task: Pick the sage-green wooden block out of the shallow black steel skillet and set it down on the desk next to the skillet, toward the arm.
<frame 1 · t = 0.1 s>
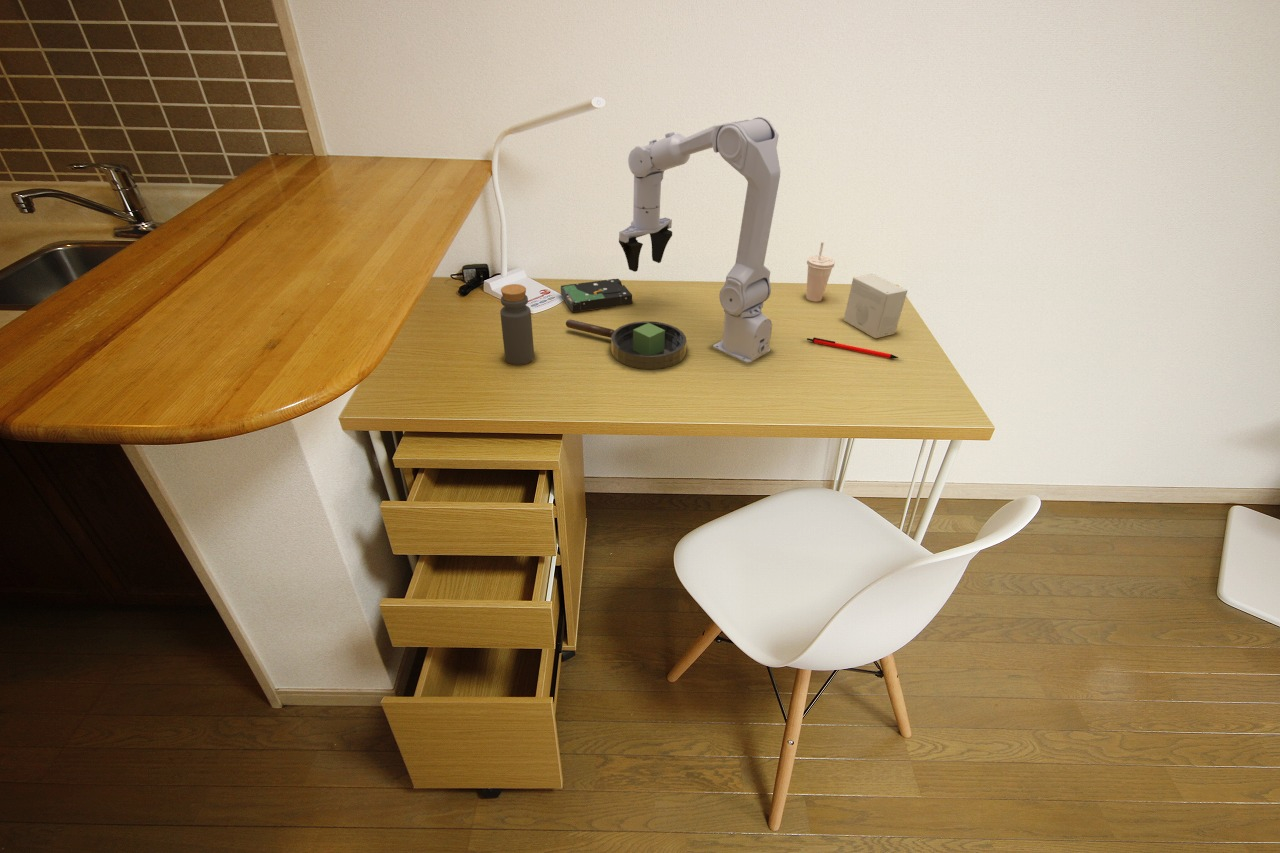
hand: (645, 265, 148), 10 cm above the table, tool pointing down, fingers open, 7 cm apart
skillet handle: (590, 328, 140), point 2 cm above the table
cosmetics box: (868, 327, 149), on the table
bottle: (519, 358, 133), on the table
block: (648, 340, 135), in the skillet
disk drive: (596, 301, 157), on the table
smoothie: (813, 299, 160), on the table
pen: (851, 350, 139), on the table
skillet: (648, 351, 136), on the table
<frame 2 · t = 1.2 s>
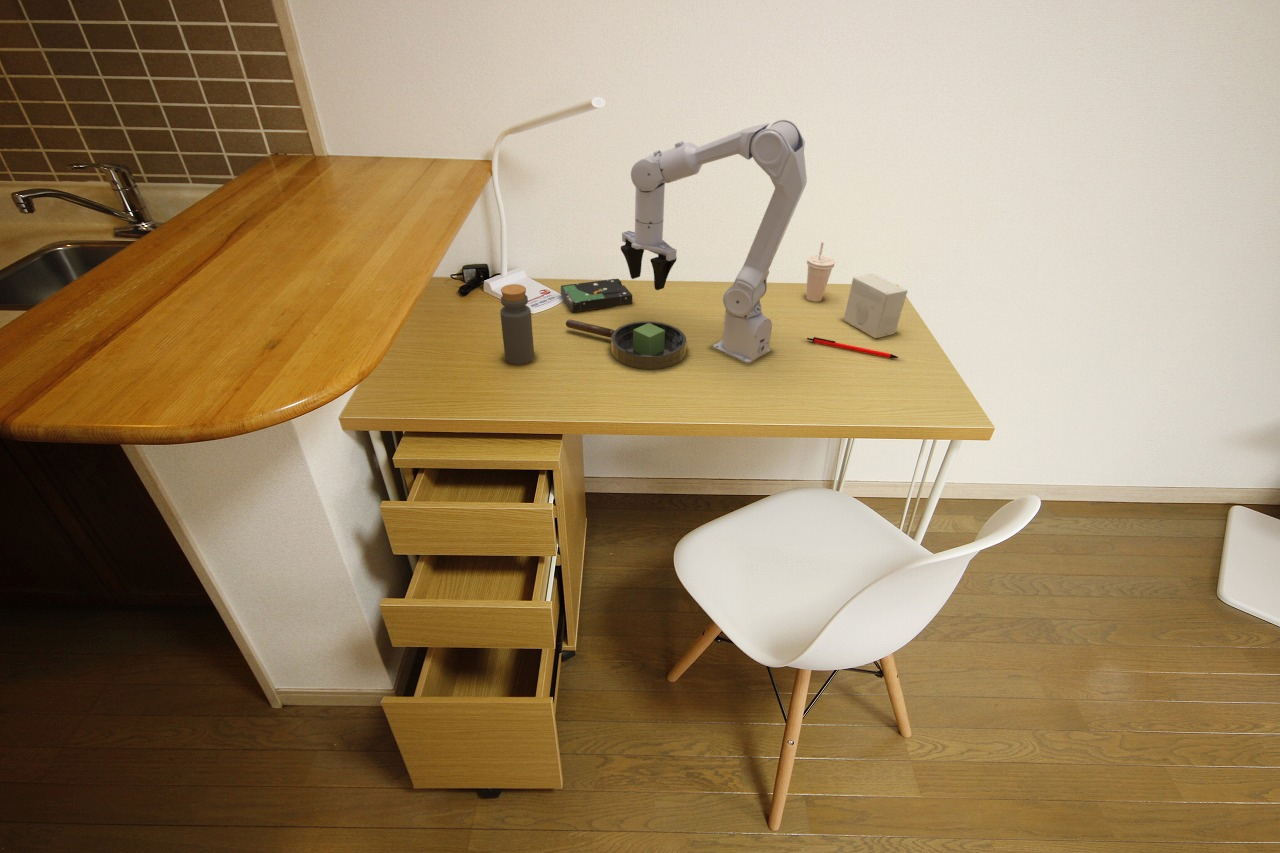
hand: (647, 283, 140), 10 cm above the table, tool pointing down, fingers open, 7 cm apart
nothing on the table moved.
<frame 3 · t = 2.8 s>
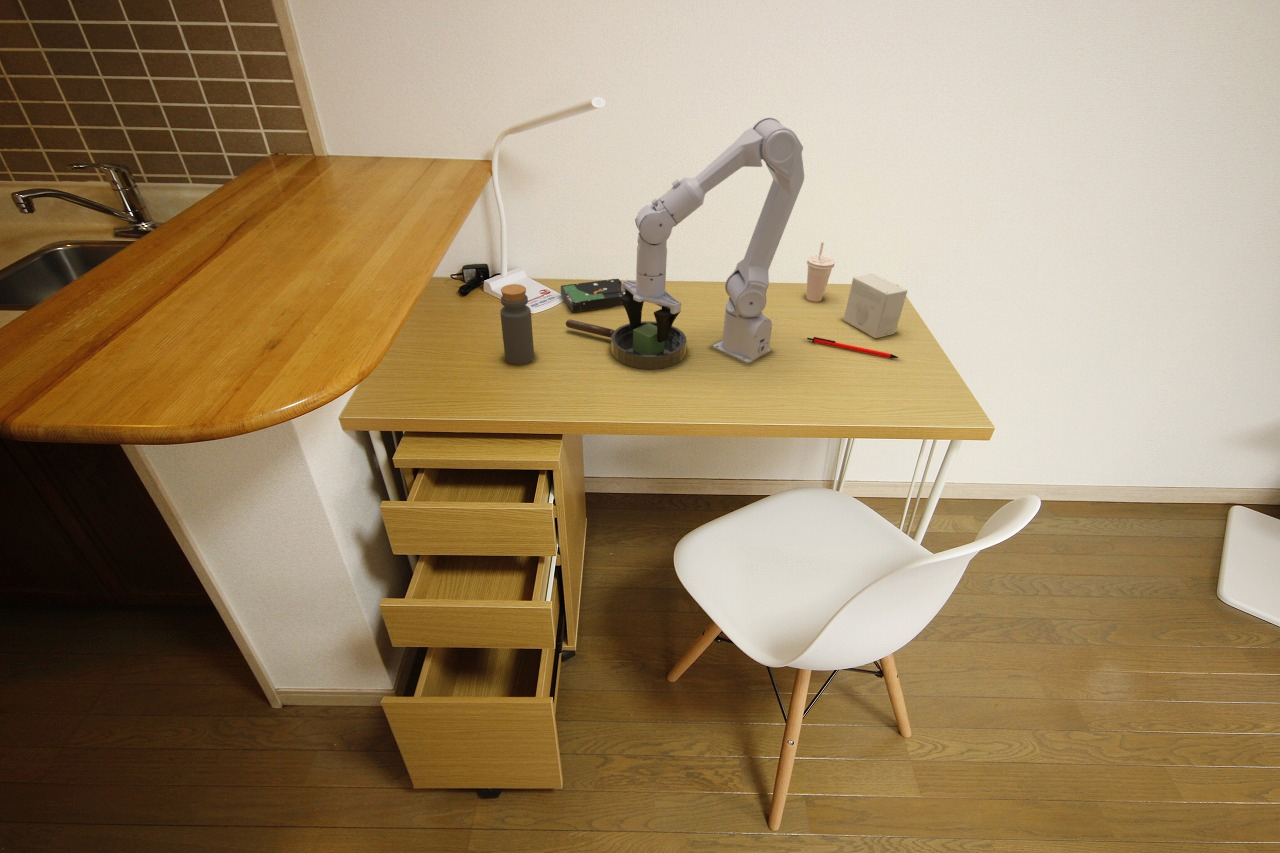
hand: (648, 334, 134), 4 cm above the table, tool pointing down, fingers open, 7 cm apart
nothing on the table moved.
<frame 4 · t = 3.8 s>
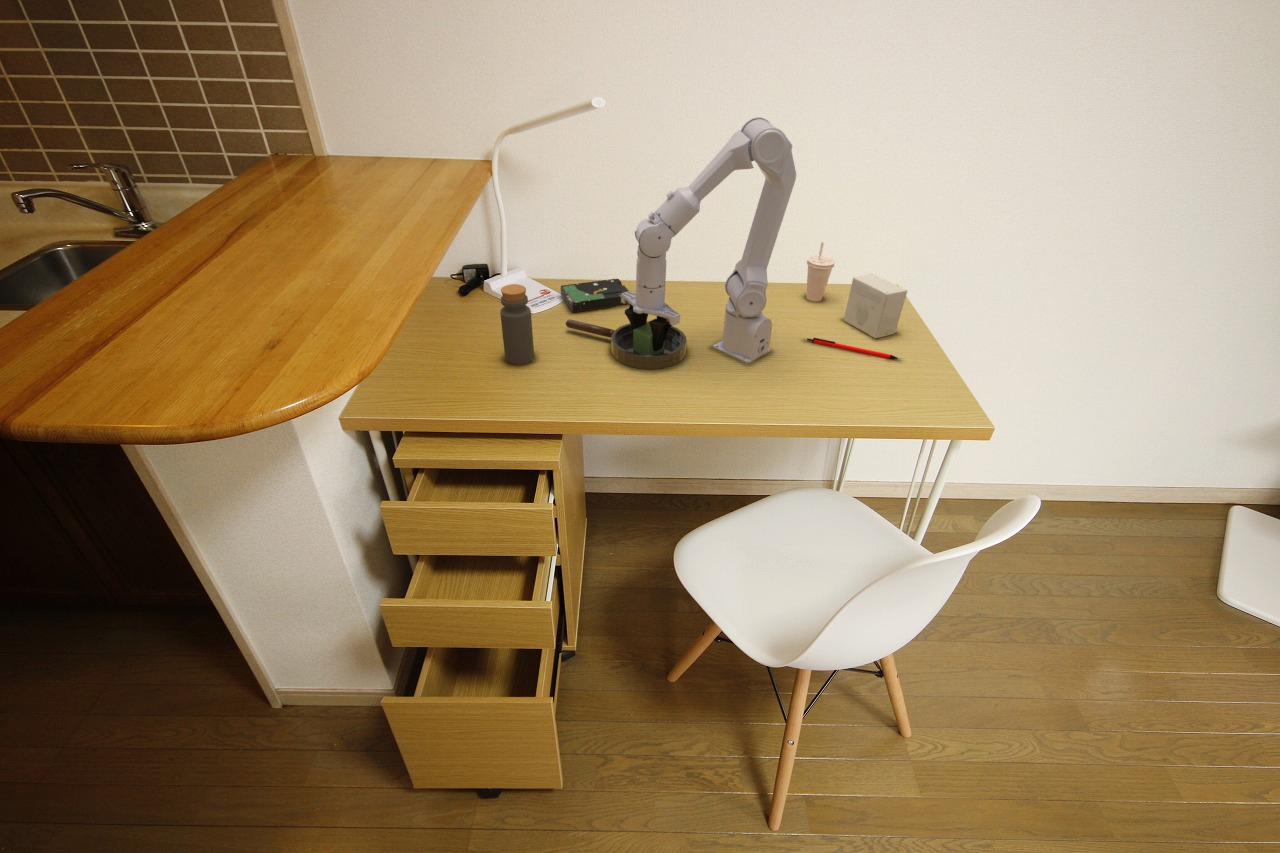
hand: (648, 344, 136), 2 cm above the table, tool pointing down, fingers closed on block, 4 cm apart
block: (648, 340, 135), in the skillet, touching gripper
everything else where it was.
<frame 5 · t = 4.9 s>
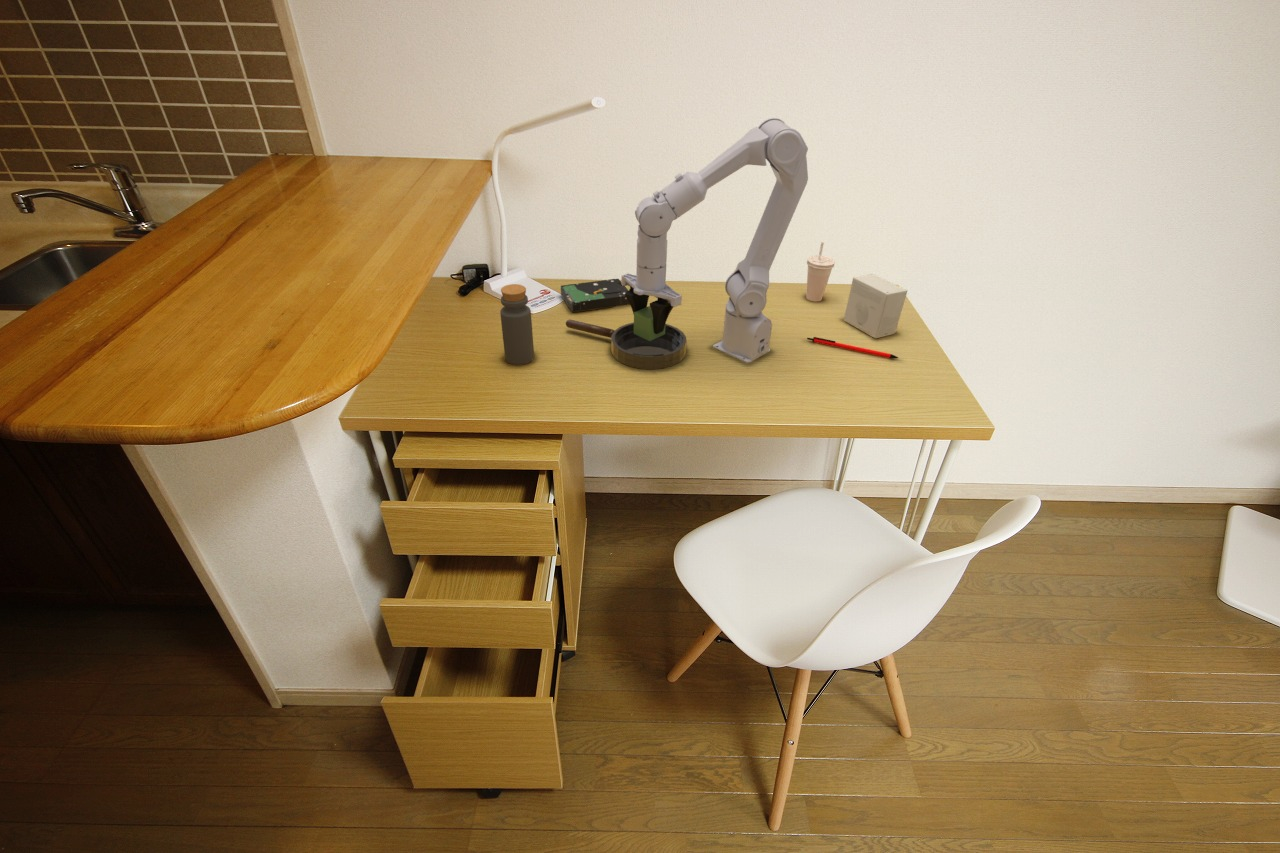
hand: (649, 327, 133), 6 cm above the table, tool pointing down, fingers closed on block, 4 cm apart
block: (649, 323, 133), point 7 cm above the table, touching gripper
everything else where it was.
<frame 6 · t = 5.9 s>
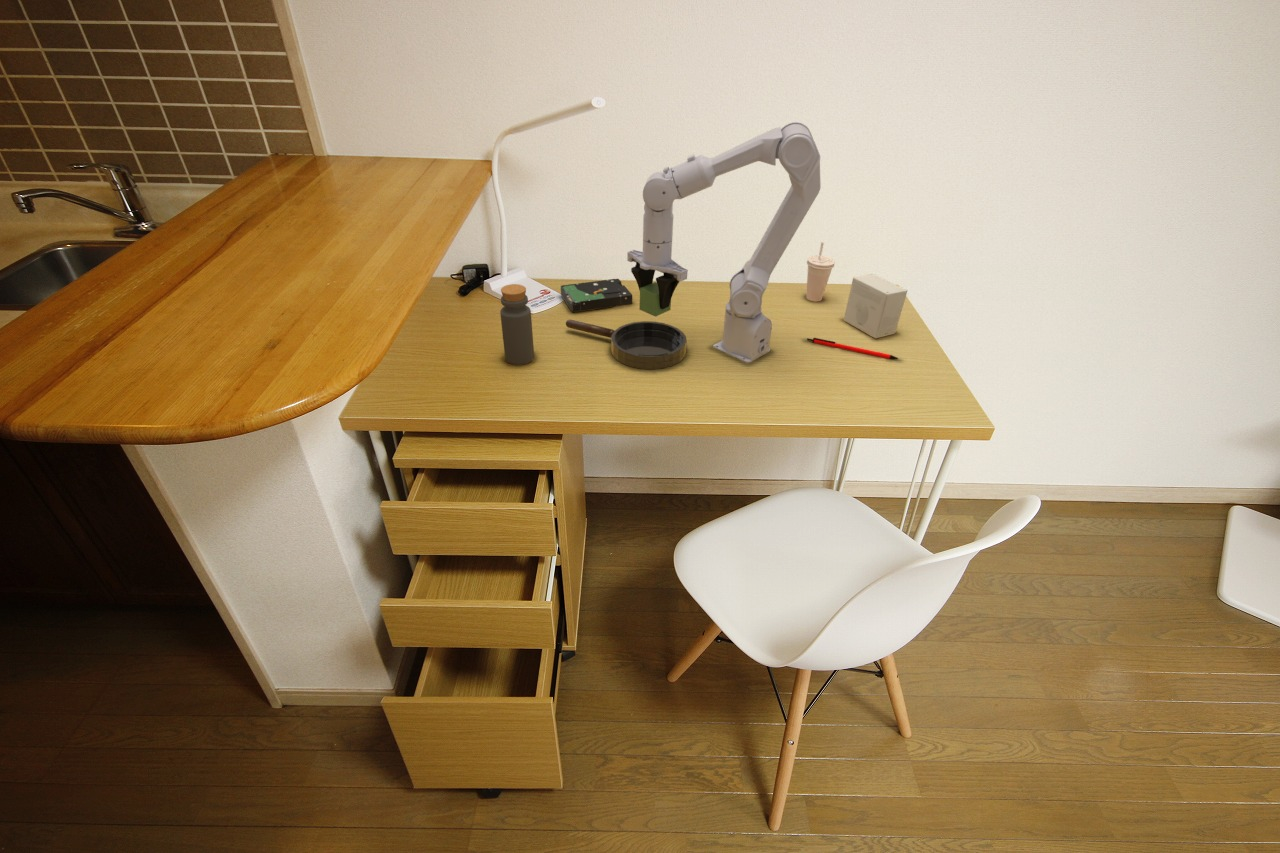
hand: (655, 303, 135), 9 cm above the table, tool pointing down, fingers closed on block, 4 cm apart
block: (655, 299, 134), point 10 cm above the table, touching gripper
everything else where it was.
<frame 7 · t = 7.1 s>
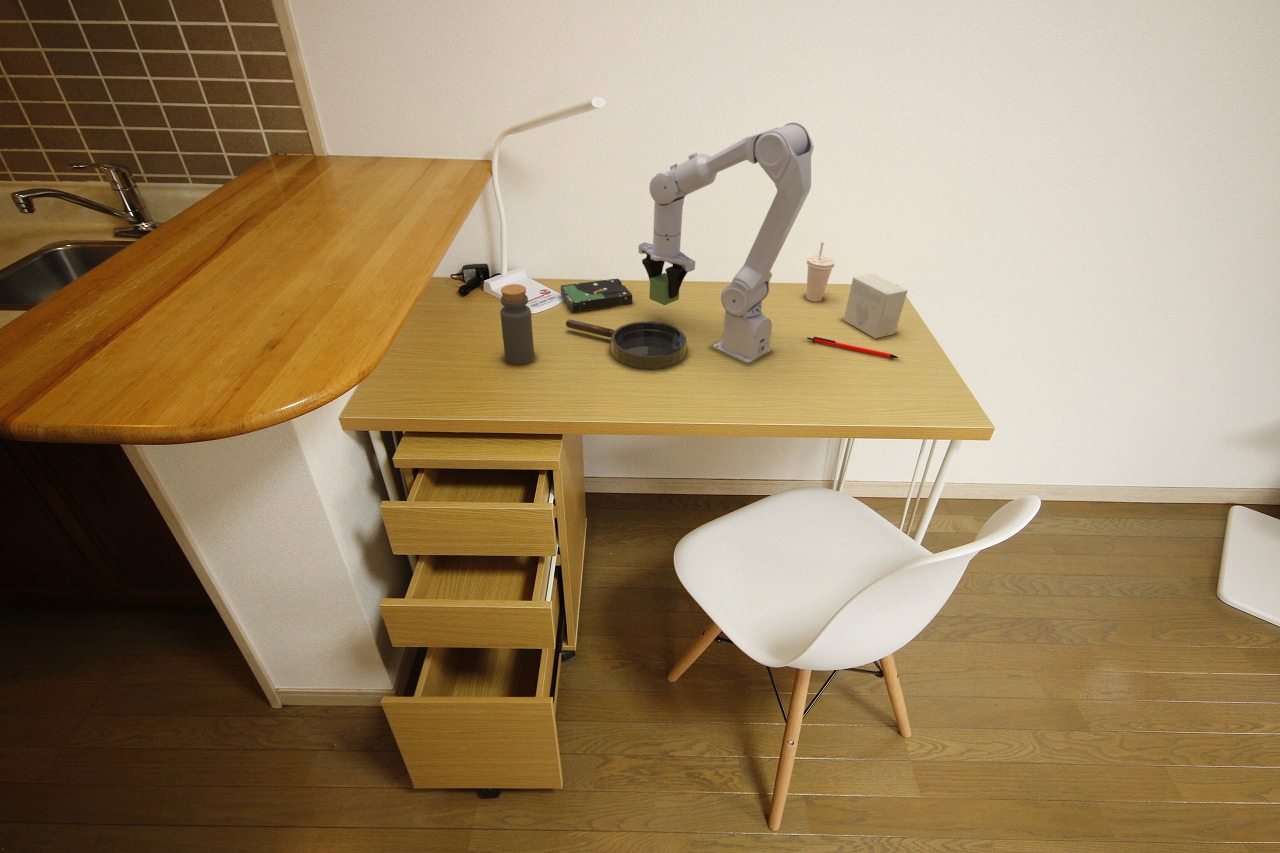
hand: (664, 293, 143), 7 cm above the table, tool pointing down, fingers closed on block, 4 cm apart
block: (664, 288, 143), point 8 cm above the table, touching gripper
everything else where it was.
when the fingers open (1 cm above the table, at t = 9.0 s): block stays where it is, on the table.
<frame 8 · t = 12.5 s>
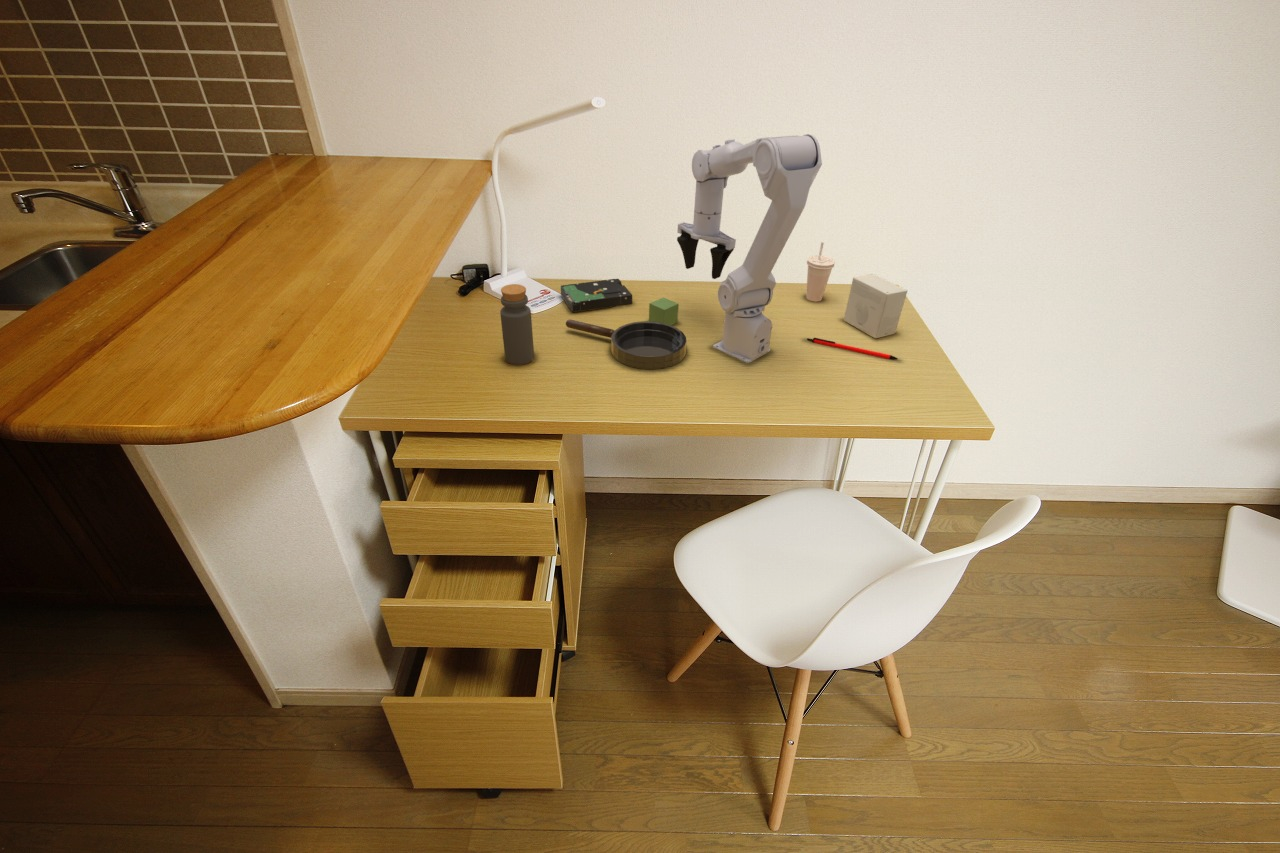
hand: (702, 272, 145), 10 cm above the table, tool pointing down, fingers open, 7 cm apart
block: (663, 313, 146), on the table
everything else where it was.
at the end: block 0.0 cm from the target spot, on the table; block tilted 0°; the gripper is holding nothing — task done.
